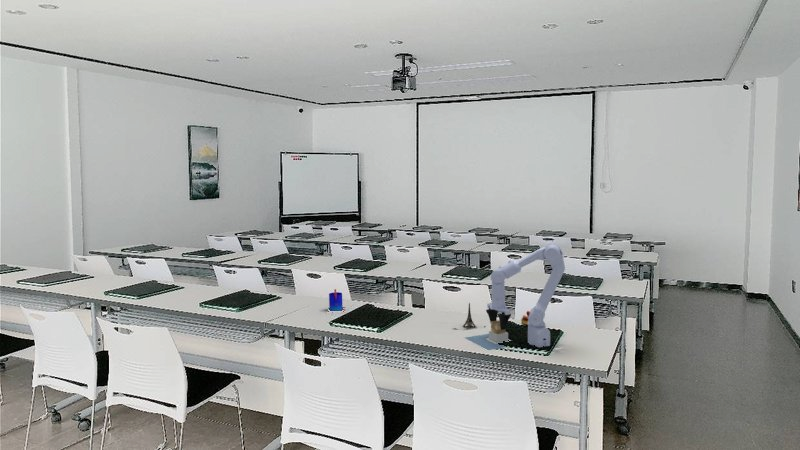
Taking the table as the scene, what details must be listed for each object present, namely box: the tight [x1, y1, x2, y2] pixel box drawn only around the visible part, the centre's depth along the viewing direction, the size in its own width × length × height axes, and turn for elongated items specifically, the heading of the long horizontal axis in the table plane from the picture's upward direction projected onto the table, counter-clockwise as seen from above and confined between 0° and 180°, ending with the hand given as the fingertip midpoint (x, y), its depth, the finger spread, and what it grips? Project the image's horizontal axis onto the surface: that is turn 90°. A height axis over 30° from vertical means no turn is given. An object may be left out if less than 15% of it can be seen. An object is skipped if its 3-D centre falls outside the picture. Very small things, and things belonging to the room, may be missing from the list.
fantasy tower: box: [328, 288, 346, 312], centre depth 311 cm, size 12×12×12 cm
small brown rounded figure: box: [520, 310, 530, 326], centre depth 276 cm, size 8×10×7 cm
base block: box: [488, 330, 509, 343], centre depth 249 cm, size 6×6×4 cm
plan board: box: [464, 333, 512, 351], centre depth 248 cm, size 20×16×1 cm
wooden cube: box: [490, 320, 507, 334], centre depth 249 cm, size 4×4×4 cm
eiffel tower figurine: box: [452, 302, 486, 331], centre depth 273 cm, size 15×10×13 cm
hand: (498, 327), depth 249 cm, fingers open, 7 cm apart
